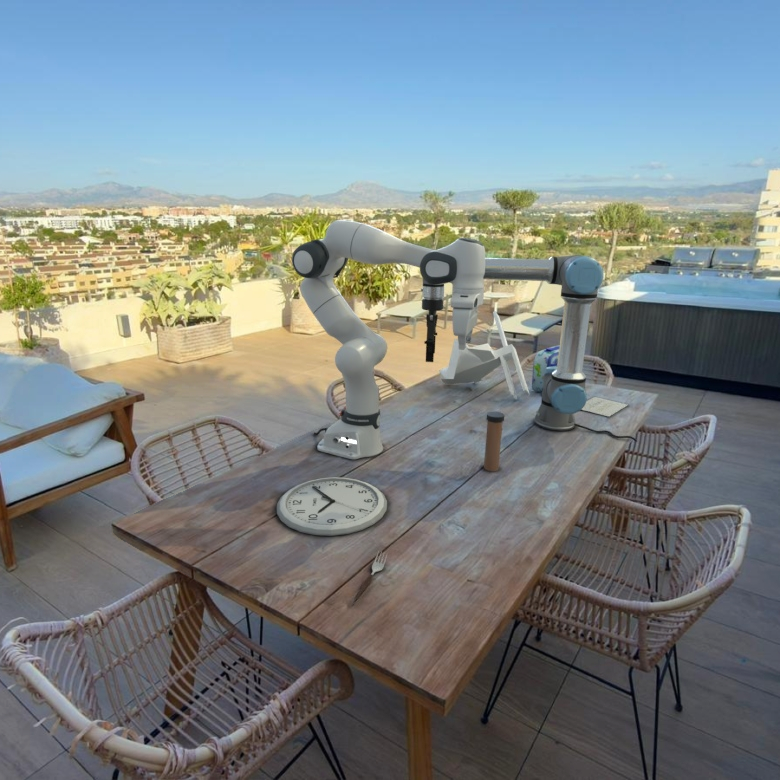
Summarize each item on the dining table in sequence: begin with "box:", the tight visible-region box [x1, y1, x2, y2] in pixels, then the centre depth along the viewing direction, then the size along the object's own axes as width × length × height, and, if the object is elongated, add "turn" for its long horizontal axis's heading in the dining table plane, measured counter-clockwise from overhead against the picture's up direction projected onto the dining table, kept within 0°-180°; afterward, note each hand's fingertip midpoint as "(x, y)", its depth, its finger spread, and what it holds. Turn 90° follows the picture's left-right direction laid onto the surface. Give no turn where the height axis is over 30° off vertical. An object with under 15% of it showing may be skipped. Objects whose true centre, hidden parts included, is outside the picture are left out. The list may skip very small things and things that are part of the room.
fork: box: [354, 550, 388, 603], centre depth 112 cm, size 3×16×2 cm, turn 160°
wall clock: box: [276, 476, 388, 537], centre depth 142 cm, size 30×2×30 cm
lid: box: [485, 411, 505, 423], centre depth 161 cm, size 5×5×2 cm
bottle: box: [483, 419, 504, 472], centre depth 164 cm, size 5×5×18 cm
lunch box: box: [531, 344, 560, 393], centre depth 245 cm, size 26×11×21 cm, turn 134°
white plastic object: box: [438, 310, 531, 400], centre depth 245 cm, size 37×45×31 cm
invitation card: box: [580, 396, 629, 418], centre depth 226 cm, size 21×1×15 cm
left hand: (464, 345), depth 152 cm, fingers open, 8 cm apart
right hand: (430, 357), depth 190 cm, fingers open, 13 cm apart
